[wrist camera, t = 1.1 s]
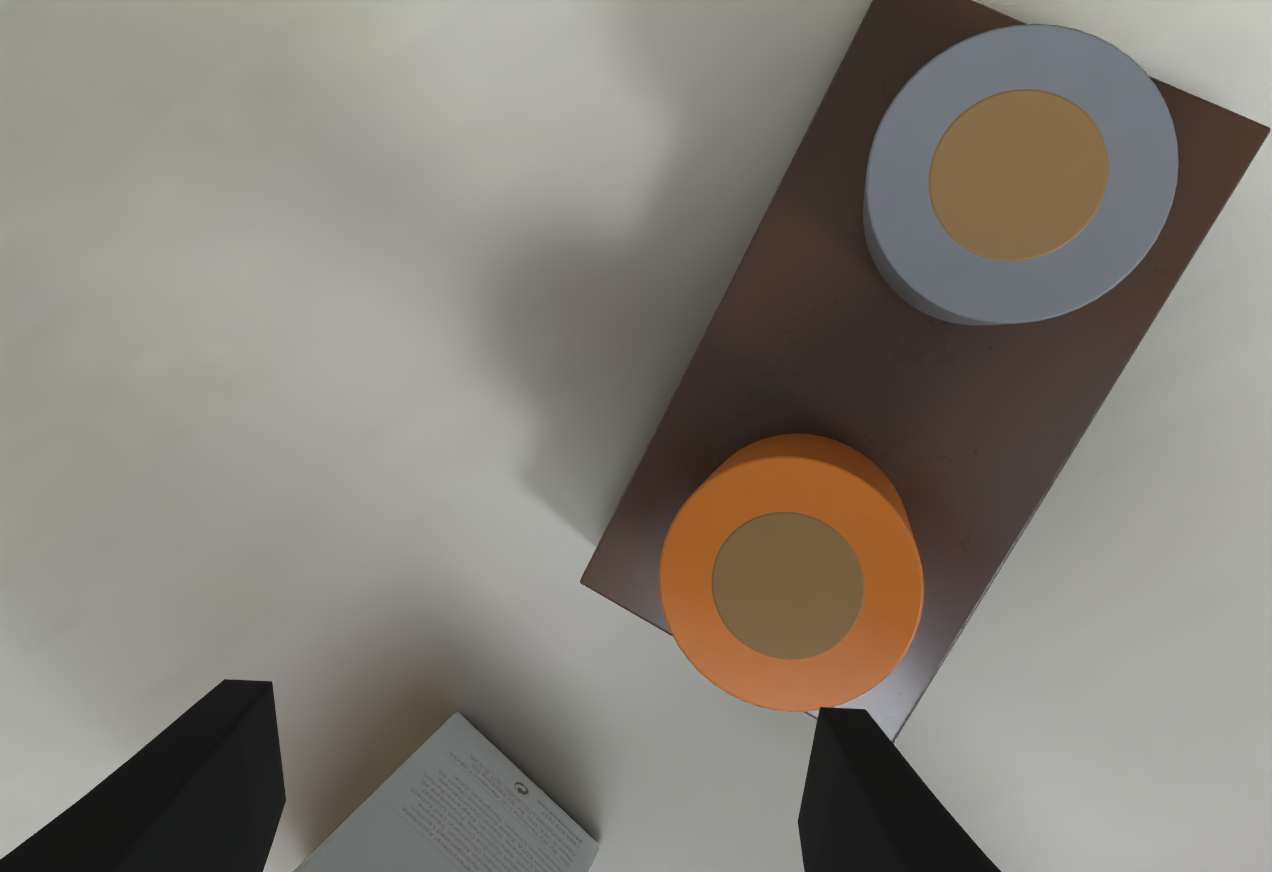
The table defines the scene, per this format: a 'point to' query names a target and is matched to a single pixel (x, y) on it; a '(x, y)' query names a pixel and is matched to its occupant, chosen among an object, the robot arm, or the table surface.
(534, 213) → the table surface
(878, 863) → the robot arm
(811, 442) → the orange tape
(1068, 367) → the brown rectangular block
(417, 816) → the small box
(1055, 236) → the grey tape
